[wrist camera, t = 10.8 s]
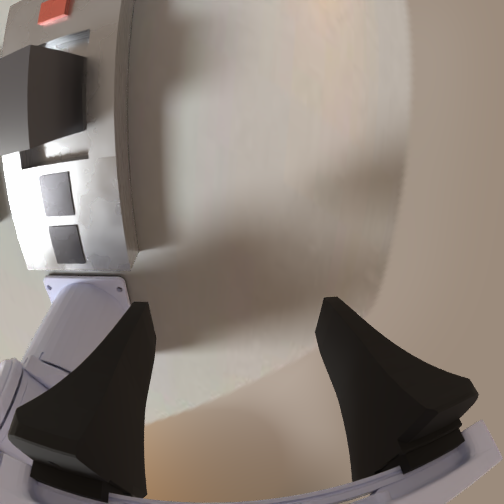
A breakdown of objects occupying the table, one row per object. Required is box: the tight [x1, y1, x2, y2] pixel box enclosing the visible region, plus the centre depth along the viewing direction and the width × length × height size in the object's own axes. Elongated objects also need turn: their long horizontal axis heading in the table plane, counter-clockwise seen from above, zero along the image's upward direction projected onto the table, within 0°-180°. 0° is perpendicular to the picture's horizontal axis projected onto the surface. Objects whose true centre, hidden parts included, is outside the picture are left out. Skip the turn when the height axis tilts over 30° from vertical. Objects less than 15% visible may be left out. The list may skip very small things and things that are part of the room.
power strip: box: [2, 0, 139, 271], centre depth 13 cm, size 20×9×3 cm, turn 177°
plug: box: [0, 45, 84, 157], centre depth 10 cm, size 5×4×6 cm
